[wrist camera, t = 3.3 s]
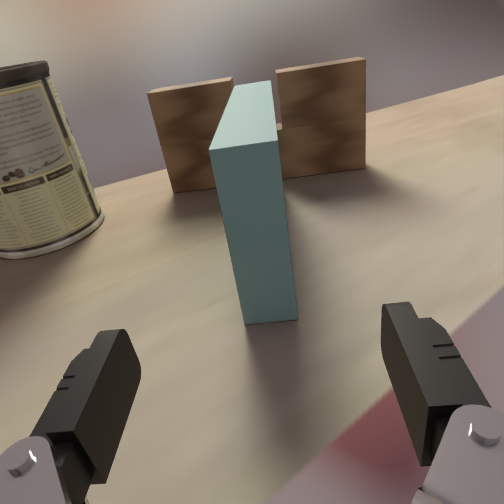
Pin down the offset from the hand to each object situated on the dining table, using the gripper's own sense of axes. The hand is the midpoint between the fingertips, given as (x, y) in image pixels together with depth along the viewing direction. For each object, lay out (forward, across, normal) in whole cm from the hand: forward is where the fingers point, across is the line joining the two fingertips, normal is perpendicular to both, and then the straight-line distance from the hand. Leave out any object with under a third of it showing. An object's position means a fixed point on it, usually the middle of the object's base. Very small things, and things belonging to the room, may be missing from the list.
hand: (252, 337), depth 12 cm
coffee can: (+24, +21, +6) cm, 32 cm away
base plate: (+30, 0, +6) cm, 31 cm away
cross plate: (+16, 0, +6) cm, 18 cm away
